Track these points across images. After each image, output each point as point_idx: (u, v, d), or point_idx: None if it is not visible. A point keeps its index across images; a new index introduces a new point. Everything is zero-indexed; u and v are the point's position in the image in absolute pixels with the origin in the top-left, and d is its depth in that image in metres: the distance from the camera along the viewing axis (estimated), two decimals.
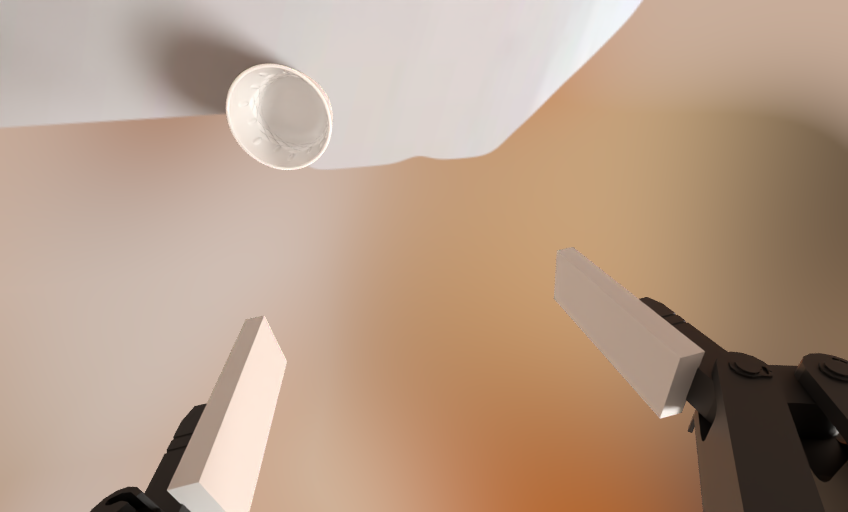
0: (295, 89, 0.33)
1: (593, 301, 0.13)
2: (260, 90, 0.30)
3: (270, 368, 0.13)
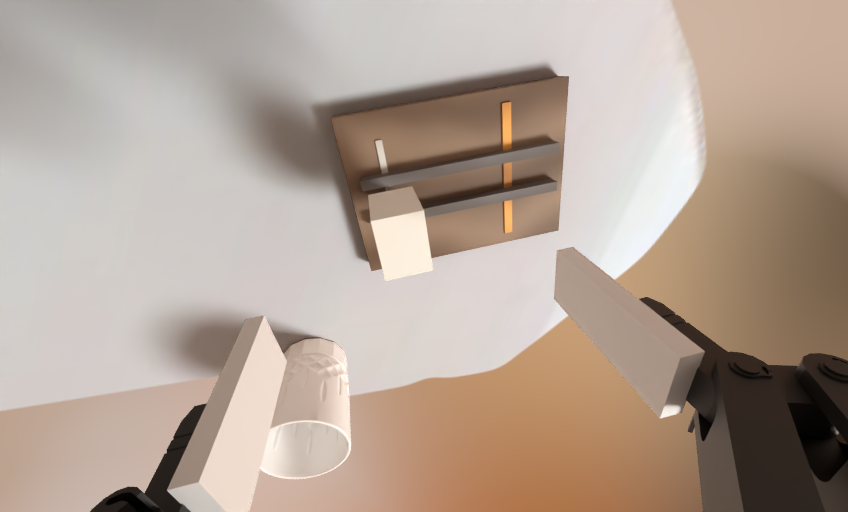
0: None
1: (593, 301, 0.13)
2: None
3: (270, 368, 0.13)
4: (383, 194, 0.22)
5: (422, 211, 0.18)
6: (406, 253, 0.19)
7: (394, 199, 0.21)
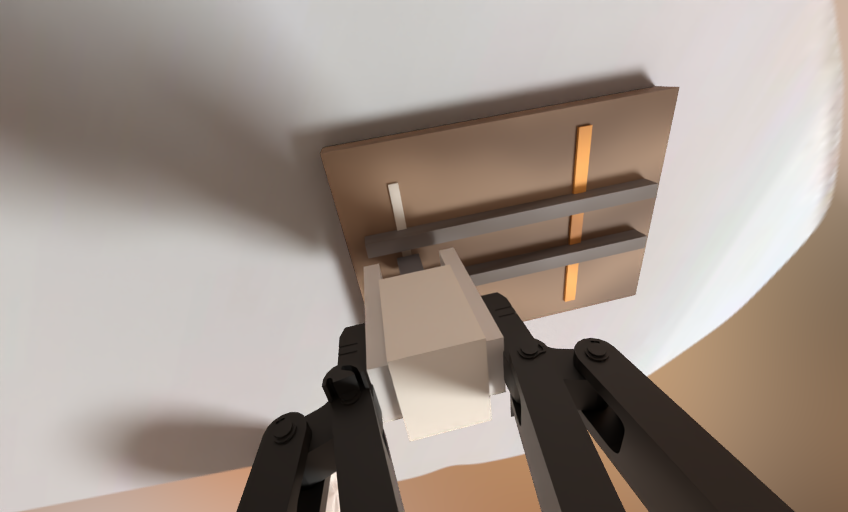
0: None
1: None
2: None
3: None
4: (403, 280, 0.13)
5: (482, 339, 0.10)
6: (448, 402, 0.11)
7: (424, 297, 0.12)
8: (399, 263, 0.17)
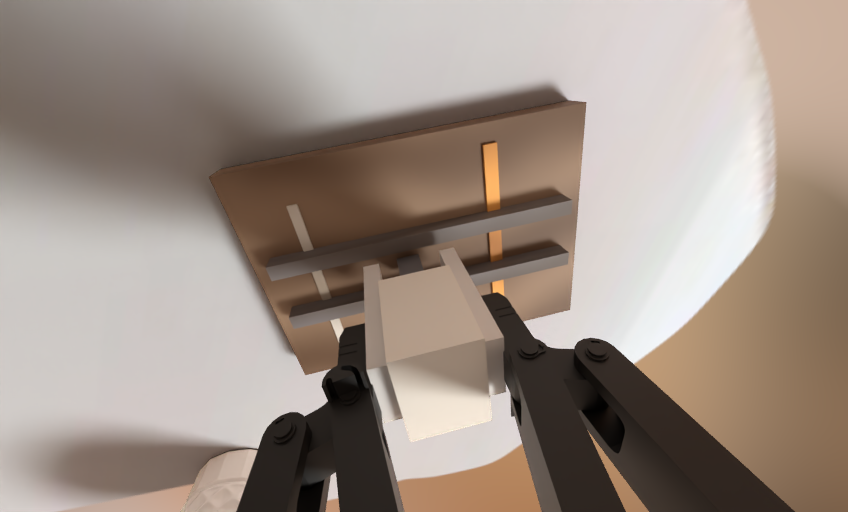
0: None
1: None
2: None
3: None
4: (402, 281, 0.13)
5: (481, 340, 0.10)
6: (448, 403, 0.11)
7: (423, 298, 0.12)
8: (399, 264, 0.17)
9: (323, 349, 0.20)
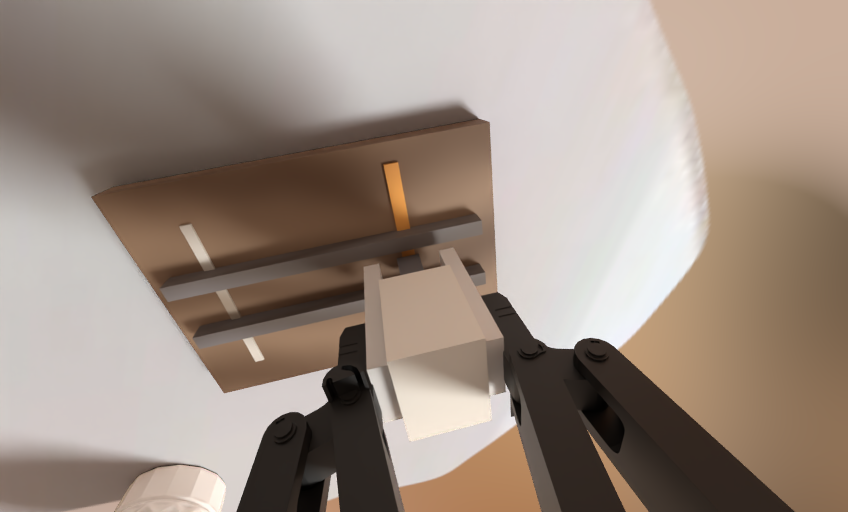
0: None
1: None
2: None
3: None
4: (403, 281, 0.13)
5: (482, 339, 0.10)
6: (448, 402, 0.11)
7: (424, 297, 0.12)
8: (399, 263, 0.17)
9: (239, 367, 0.20)
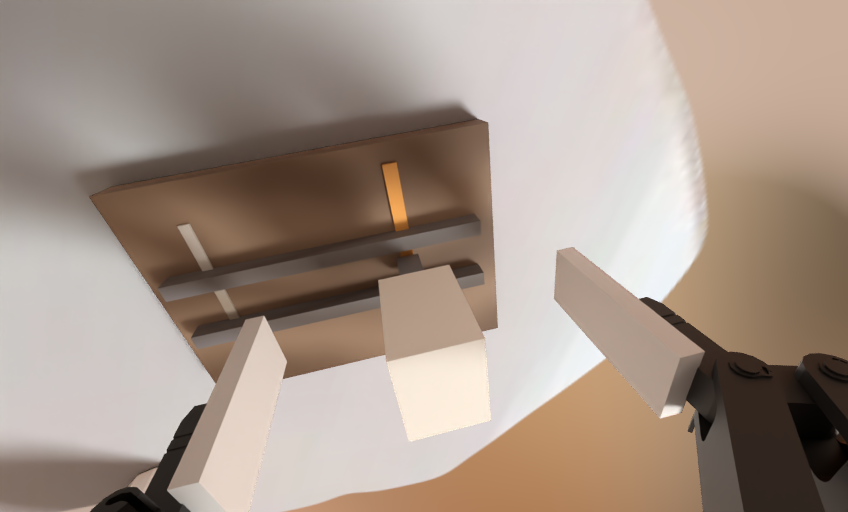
0: None
1: (593, 301, 0.13)
2: None
3: (270, 368, 0.13)
4: (403, 281, 0.13)
5: (481, 340, 0.10)
6: (447, 402, 0.11)
7: (424, 297, 0.12)
8: (399, 263, 0.17)
9: None
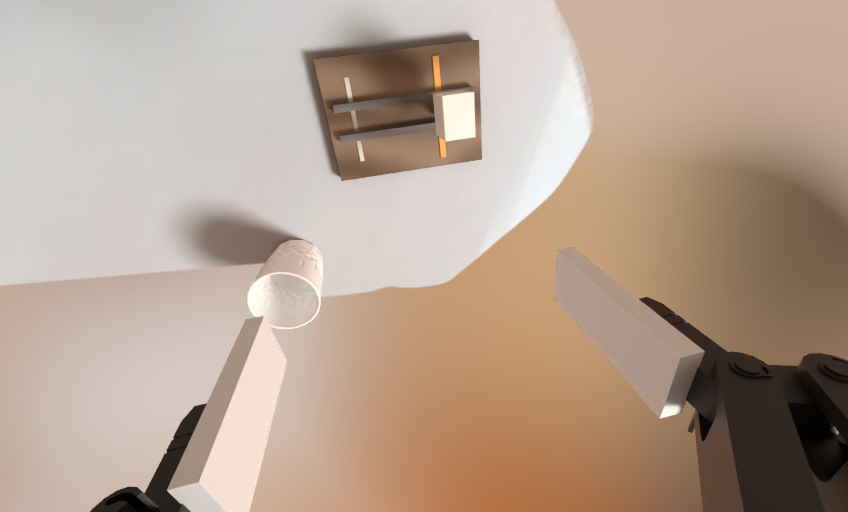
0: None
1: (593, 301, 0.13)
2: None
3: (270, 368, 0.13)
4: (443, 93, 0.34)
5: (473, 92, 0.30)
6: (460, 122, 0.31)
7: (452, 92, 0.33)
8: None
9: (352, 164, 0.40)
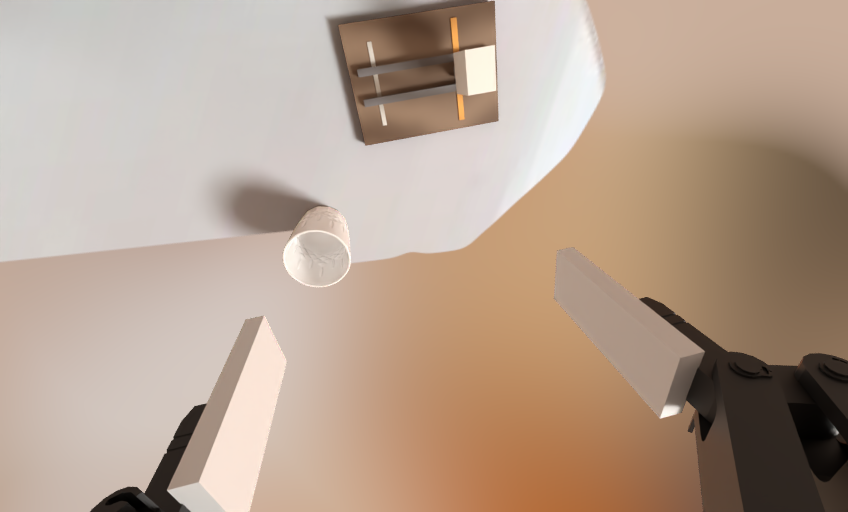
0: None
1: (593, 301, 0.13)
2: None
3: (270, 368, 0.13)
4: None
5: (493, 45, 0.32)
6: (482, 76, 0.33)
7: None
8: None
9: (375, 129, 0.42)
